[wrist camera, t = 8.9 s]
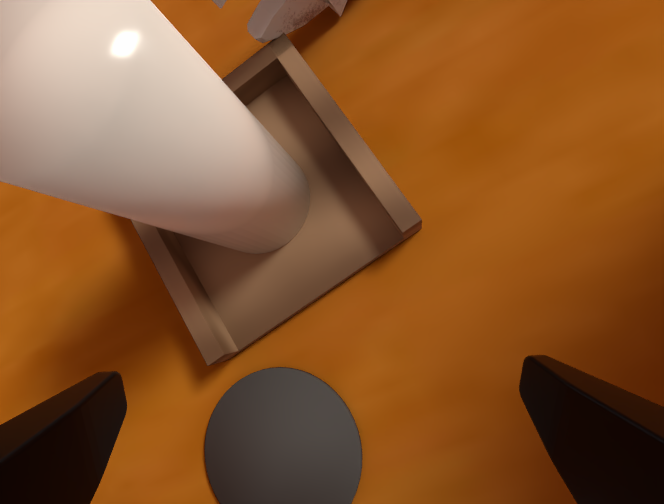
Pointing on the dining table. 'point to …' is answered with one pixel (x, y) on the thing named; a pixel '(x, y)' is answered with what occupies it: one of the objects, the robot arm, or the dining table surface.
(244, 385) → the coaster
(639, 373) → the dining table surface
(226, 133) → the white rounded tapered post
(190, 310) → the bay
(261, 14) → the wrench
